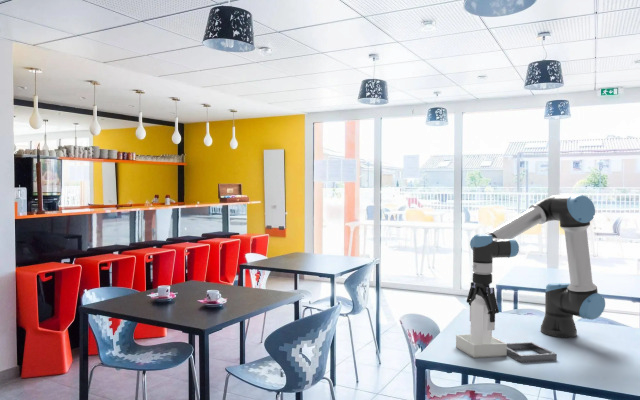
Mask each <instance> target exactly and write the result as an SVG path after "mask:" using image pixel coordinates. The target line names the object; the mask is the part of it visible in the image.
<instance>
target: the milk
mask: <svg viewBox="0 0 640 400" xmlns="http://www.w3.org/2000/svg"><path fill="white" fill-rule="evenodd" d="M488 312H489V311H488V309H487V306H486V303H485V301H484V299H483V298H482V297H481V296H479V295H476V298H475V299H474V301H473V302H472V303H471V322H470V333H469V334H470V342H471V343H472V344H474V345H480V344H492V336H493V330H487V322H488Z"/></svg>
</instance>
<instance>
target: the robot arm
mask: <svg viewBox="0 0 640 400" xmlns="http://www.w3.org/2000/svg"><path fill="white" fill-rule="evenodd" d="M595 215H596V207H595V204H594V202H593V200H592V199H590V198H589V197H588V196H586V195H585V194H584V195H583V194H576V193H575V194H574V193H573V194H552V195H550V196H547V197H544V198H542V199H540V200H538V201H537V202H535V203H533V204H531V205H530V206H529V207H528V209H527V210H525V211H524V212H521V213H520V214H518V215H516V216H514V217H512V218H511V219H509V220H507V221H506V222H504V223H503V224H500V225H499V226H497V227H495V228H493V229H492V230H490V231H489V232H487V233H484V234H483V233H482V234H481V233H479V234H475V235H474V236H472V238H471V239H470V241H469V246H470V249H471V250H472V281H471V282H470V287H469V291H468V295H467V298H466V303H467V304H468V305H469V322H470V323H471V303H472V302H473V301H474V299H475V298H476V295H479V296H481V297H482V298H483V299H484V301H485V303H486V306H487V309H488V311H489V312H488V322H487V330H492V331H495V329H496V327H495V325H496V314H499V313H500V310H499V307H498V302H497V298H496V293H495V287H490V284H492V283H493V274H492V273H493V259H496V258H508V259H509V258H513V257H516V256H517V255H518V254H519V252H520V250H519V249H520V246H519V243H518V241H517V240H516V239H515V237H518V236H519V235H522V234H523V233H525V232H526V231H528V230H530V229H531V228H533V227H535V226H537V225H543V224H545V223H547V222H550V221H557V222H559V227H560V229H562V230H563V231H564V236H565V237H564V238H565V245H566V246H565V247H566V255H567V263H568V272H569V281H570V282H569V283H566V282H565V283H564V282H561V283H560V282H559V283H557V282H555V283H548V284H547V285H546V286H545V297H544V298H545V299H544V300H545V301H544V302H545V305H544V307H545V311H544V312H545V313H544V317H543V320H542V323H541V325H540V332H541V333H542V334H545V335H547V336H552V337H557V338H558V337H559V338H574V337H577V335H578V331H577V326H576V323H575V321H574V320H575V319H574V316H575V317H579V318H581V319H584V320H586V319H587V320H591V321H592V320H596V319H598V318H600V317H601V315H602V314H603V313H604V311H605V307H606V300H605V297H604V296H603V295H602V294H600V293H598V287H597V285H596V284H594V283H593V276H592V275H593V273H592V266H591V265H592V264H591V256H590V249H589V247H590V245H589V239H588V238H589V237H588V230H587V229H588V228H589V227H590V226H591V221H593V219H594V217H595Z"/></svg>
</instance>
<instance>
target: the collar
mask: <svg viewBox="0 0 640 400" xmlns="http://www.w3.org/2000/svg"><path fill="white" fill-rule="evenodd" d="M506 343H507V342H506ZM517 350H518V351H519V350H520V351H521V350H532V351H534V352H536V353H533V354H531V353H530V354H521V353H519V352H517ZM557 355H558V354H557V352H553V351H552V350H549V349H547V348H545V347H543V346H540V345H539V344H537V343H535V342H532V341H531V342H530V341H527V342H511V343H510V342H509V343H507V356H508V357H510V358H512V359H513V360H516V361H517V362H519V363H535V362H550V361H551V362H552V361H554V362H555V361H557V359H558V356H557Z"/></svg>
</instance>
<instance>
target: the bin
mask: <svg viewBox="0 0 640 400" xmlns="http://www.w3.org/2000/svg"><path fill="white" fill-rule="evenodd" d="M455 347H456V348H457V349H458V350H460V351H461V352H463V353H465V354H466V355H468V356H469V357H471V358H473V359H480V358H481V359H482V358H483V359H484V358H499V357H502V358H503V357H507V356H508V355H507V342H505V341H502V340H501V339H498V338H496V337H495V336H493V335H492V344H480V345H474V344H472V343H471V342H470V333H468V334H456V335H455Z"/></svg>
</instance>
